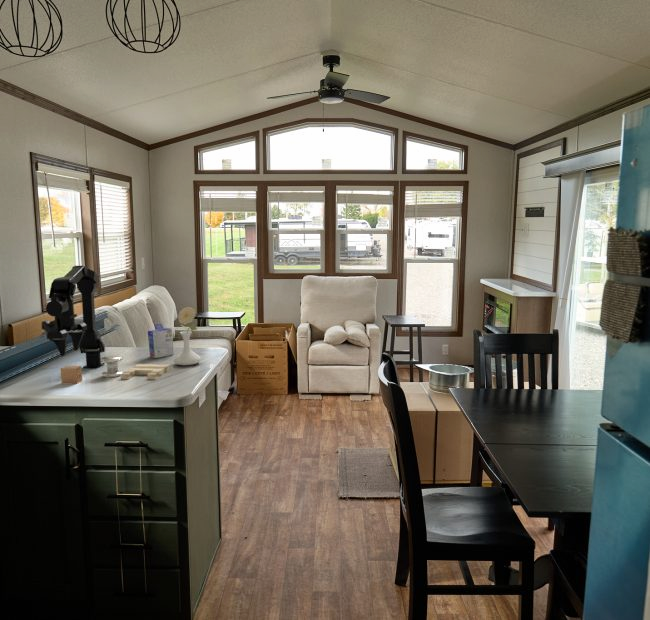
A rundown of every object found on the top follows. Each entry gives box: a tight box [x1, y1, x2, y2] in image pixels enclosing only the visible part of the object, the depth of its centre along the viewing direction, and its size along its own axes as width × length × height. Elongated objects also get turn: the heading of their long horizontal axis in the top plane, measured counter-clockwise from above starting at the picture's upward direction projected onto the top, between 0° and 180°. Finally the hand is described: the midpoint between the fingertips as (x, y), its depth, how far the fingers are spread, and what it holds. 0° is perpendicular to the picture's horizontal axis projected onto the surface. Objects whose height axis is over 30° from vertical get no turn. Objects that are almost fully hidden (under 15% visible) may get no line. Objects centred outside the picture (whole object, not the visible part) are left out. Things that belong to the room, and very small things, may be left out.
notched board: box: [120, 363, 172, 380], centre depth 228 cm, size 16×14×2 cm
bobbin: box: [101, 355, 124, 379], centre depth 227 cm, size 8×8×7 cm
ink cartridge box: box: [147, 323, 175, 359], centre depth 259 cm, size 10×6×14 cm, turn 135°
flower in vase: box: [173, 306, 202, 366], centre depth 241 cm, size 13×11×25 cm
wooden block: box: [60, 365, 83, 385], centre depth 217 cm, size 4×6×6 cm, turn 85°
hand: (69, 353), depth 216 cm, fingers open, 9 cm apart
